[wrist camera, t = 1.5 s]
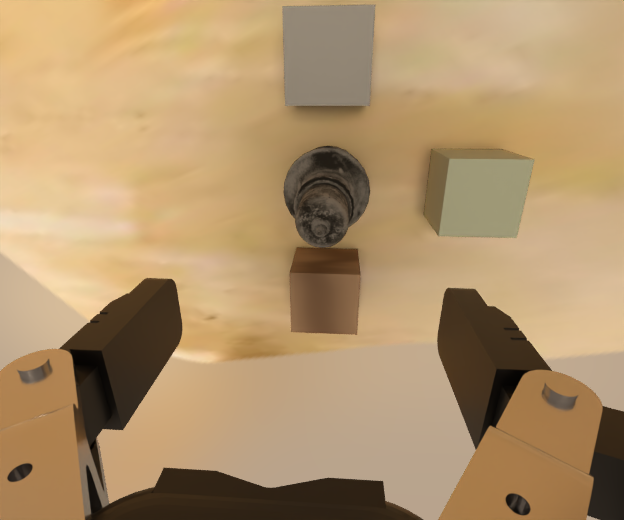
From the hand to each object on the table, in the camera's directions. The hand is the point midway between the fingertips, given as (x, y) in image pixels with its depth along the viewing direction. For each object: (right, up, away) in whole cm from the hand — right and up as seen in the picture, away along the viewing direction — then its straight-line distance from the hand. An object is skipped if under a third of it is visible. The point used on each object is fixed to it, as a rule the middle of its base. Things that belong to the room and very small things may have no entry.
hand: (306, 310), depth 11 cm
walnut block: (+1, 0, +21) cm, 21 cm away
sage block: (+11, +7, +17) cm, 22 cm away
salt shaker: (+1, +8, +18) cm, 20 cm away
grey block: (+1, +15, +15) cm, 21 cm away
